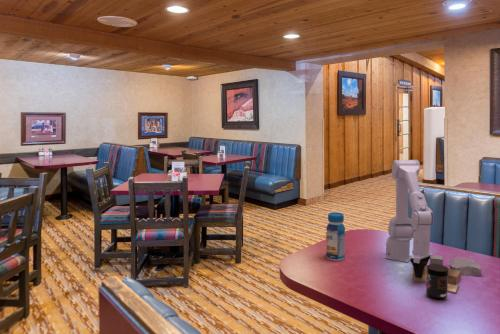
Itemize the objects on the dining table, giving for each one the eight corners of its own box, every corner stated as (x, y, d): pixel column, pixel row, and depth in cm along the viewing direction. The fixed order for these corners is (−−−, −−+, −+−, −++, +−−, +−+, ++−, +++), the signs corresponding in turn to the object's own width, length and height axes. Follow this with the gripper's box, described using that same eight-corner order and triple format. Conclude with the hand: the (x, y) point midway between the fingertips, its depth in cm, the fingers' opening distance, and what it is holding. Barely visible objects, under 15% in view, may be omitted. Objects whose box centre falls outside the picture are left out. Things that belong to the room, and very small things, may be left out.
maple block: (412, 279, 147) (412, 267, 146) (415, 275, 150) (415, 263, 150) (424, 282, 144) (425, 269, 144) (427, 278, 148) (428, 265, 147)
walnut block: (435, 281, 146) (436, 272, 145) (440, 275, 151) (441, 266, 151) (456, 286, 141) (456, 277, 141) (460, 279, 146) (461, 271, 146)
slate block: (430, 270, 156) (430, 258, 155) (429, 266, 160) (429, 254, 159) (442, 271, 154) (443, 259, 153) (441, 267, 158) (441, 255, 157)
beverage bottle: (347, 261, 167) (347, 216, 164) (327, 261, 167) (327, 216, 164) (342, 254, 175) (343, 211, 172) (324, 254, 175) (324, 211, 173)
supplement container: (435, 290, 137) (436, 262, 136) (451, 298, 131) (453, 269, 130) (421, 294, 135) (422, 265, 133) (437, 302, 129) (438, 272, 127)
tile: (435, 289, 138) (435, 287, 138) (439, 282, 144) (439, 281, 144) (456, 293, 134) (456, 292, 134) (459, 286, 140) (459, 285, 140)
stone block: (456, 280, 150) (484, 276, 148) (454, 268, 150) (482, 264, 148) (447, 269, 162) (473, 266, 160) (445, 258, 162) (470, 254, 159)
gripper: (428, 248, 137) (427, 284, 139) (436, 237, 149) (435, 271, 151) (408, 244, 141) (406, 280, 143) (417, 234, 153) (416, 267, 155)
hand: (420, 275), depth 147 cm, fingers closed on maple block, 4 cm apart
